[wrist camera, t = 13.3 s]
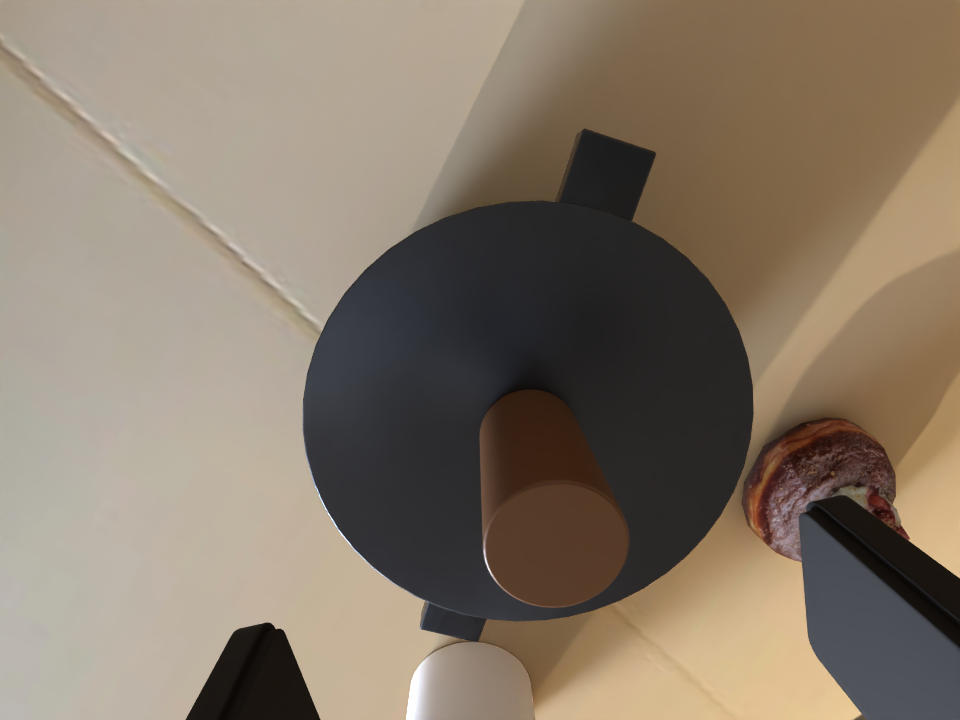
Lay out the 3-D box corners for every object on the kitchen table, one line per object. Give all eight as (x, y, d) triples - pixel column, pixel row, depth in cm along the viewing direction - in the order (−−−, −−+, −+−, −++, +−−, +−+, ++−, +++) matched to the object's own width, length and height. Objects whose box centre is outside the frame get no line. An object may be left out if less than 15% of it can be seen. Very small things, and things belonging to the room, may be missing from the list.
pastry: (846, 558, 29) (919, 626, 25) (715, 539, 29) (763, 604, 24) (901, 424, 27) (992, 470, 23) (760, 402, 27) (822, 444, 22)
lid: (275, 545, 20) (169, 728, 13) (368, 138, 16) (290, 84, 9) (643, 636, 21) (727, 845, 14) (809, 279, 17) (1034, 325, 10)
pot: (329, 492, 28) (270, 609, 20) (425, 113, 23) (399, 60, 15) (575, 555, 29) (615, 689, 21) (714, 208, 24) (837, 207, 16)
